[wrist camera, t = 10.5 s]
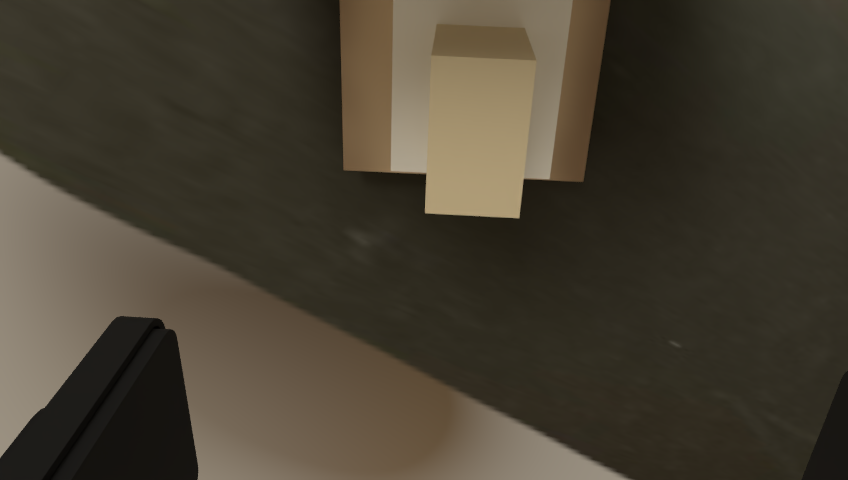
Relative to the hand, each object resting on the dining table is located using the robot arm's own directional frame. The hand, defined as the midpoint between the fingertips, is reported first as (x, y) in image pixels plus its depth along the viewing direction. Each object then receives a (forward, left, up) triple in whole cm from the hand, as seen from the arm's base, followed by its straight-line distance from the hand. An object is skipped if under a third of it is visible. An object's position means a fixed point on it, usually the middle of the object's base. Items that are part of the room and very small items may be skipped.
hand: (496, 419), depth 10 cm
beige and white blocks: (0, -2, -25) cm, 25 cm away
